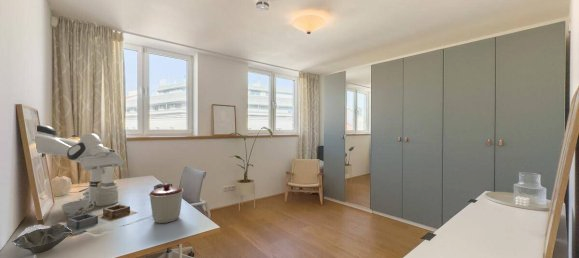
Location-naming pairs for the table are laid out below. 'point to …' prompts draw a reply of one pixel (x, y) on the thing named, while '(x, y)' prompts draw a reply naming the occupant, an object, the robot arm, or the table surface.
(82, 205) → the teacup
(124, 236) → the table surface
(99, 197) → the jar
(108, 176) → the plug
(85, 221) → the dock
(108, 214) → the brown open box
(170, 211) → the canister
